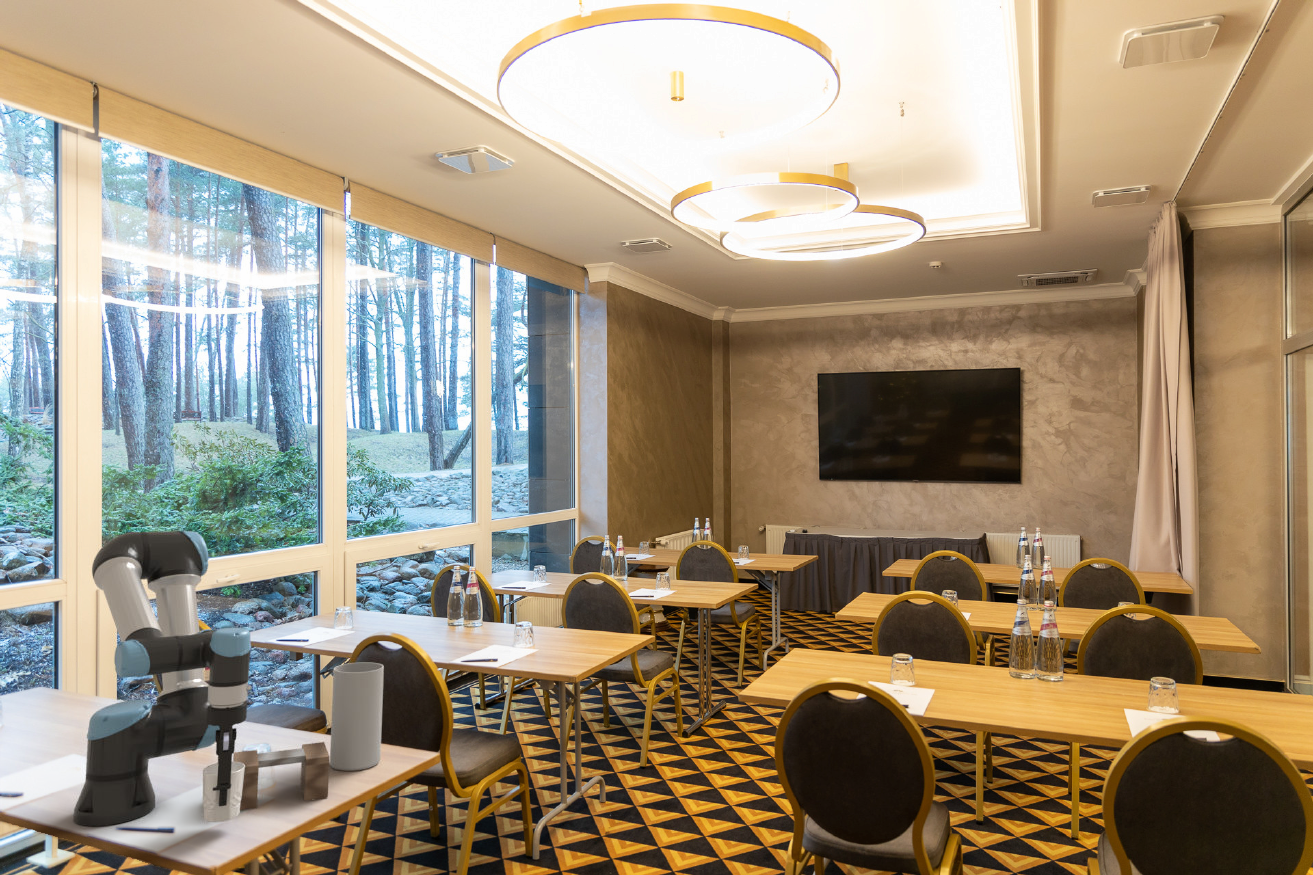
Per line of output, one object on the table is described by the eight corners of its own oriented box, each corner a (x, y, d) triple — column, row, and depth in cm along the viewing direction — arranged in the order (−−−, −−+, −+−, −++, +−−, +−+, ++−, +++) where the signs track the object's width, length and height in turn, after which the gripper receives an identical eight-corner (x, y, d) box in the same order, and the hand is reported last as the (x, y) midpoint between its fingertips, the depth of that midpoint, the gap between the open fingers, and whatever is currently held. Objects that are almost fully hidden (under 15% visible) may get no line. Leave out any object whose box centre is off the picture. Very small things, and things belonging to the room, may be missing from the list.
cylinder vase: (361, 774, 210) (365, 674, 212) (319, 768, 214) (323, 670, 215) (389, 758, 222) (393, 664, 224) (349, 753, 226) (353, 660, 227)
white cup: (250, 809, 178) (252, 762, 179) (227, 825, 171) (230, 775, 171) (215, 806, 179) (218, 760, 180) (191, 822, 171) (194, 773, 172)
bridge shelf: (232, 811, 185) (234, 768, 186) (231, 793, 196) (233, 752, 196) (327, 797, 194) (329, 756, 195) (322, 780, 205) (324, 741, 205)
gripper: (248, 714, 169) (242, 828, 168) (246, 689, 187) (240, 792, 186) (206, 718, 165) (200, 834, 164) (208, 692, 183) (202, 797, 182)
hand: (221, 812), depth 175 cm, fingers closed on white cup, 8 cm apart
